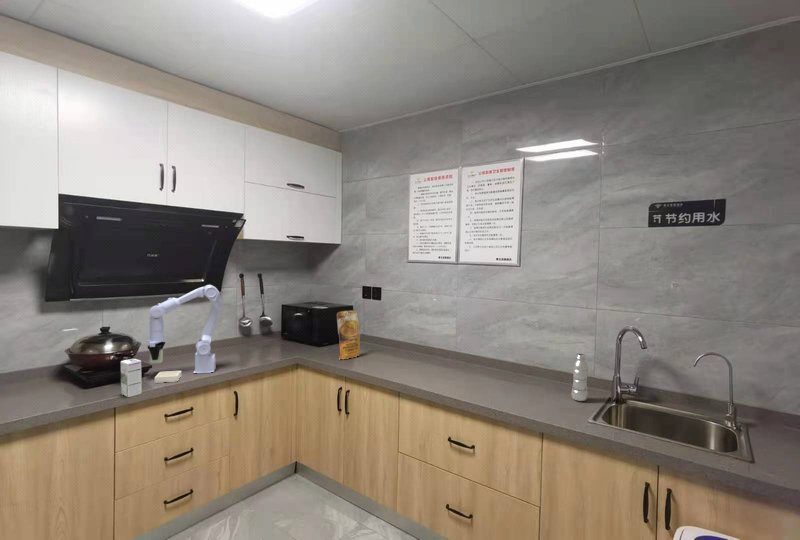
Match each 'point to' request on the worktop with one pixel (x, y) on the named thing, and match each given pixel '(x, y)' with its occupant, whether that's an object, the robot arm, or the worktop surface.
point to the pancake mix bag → (348, 334)
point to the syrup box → (131, 377)
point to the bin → (167, 376)
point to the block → (158, 357)
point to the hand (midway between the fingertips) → (156, 358)
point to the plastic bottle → (580, 378)
